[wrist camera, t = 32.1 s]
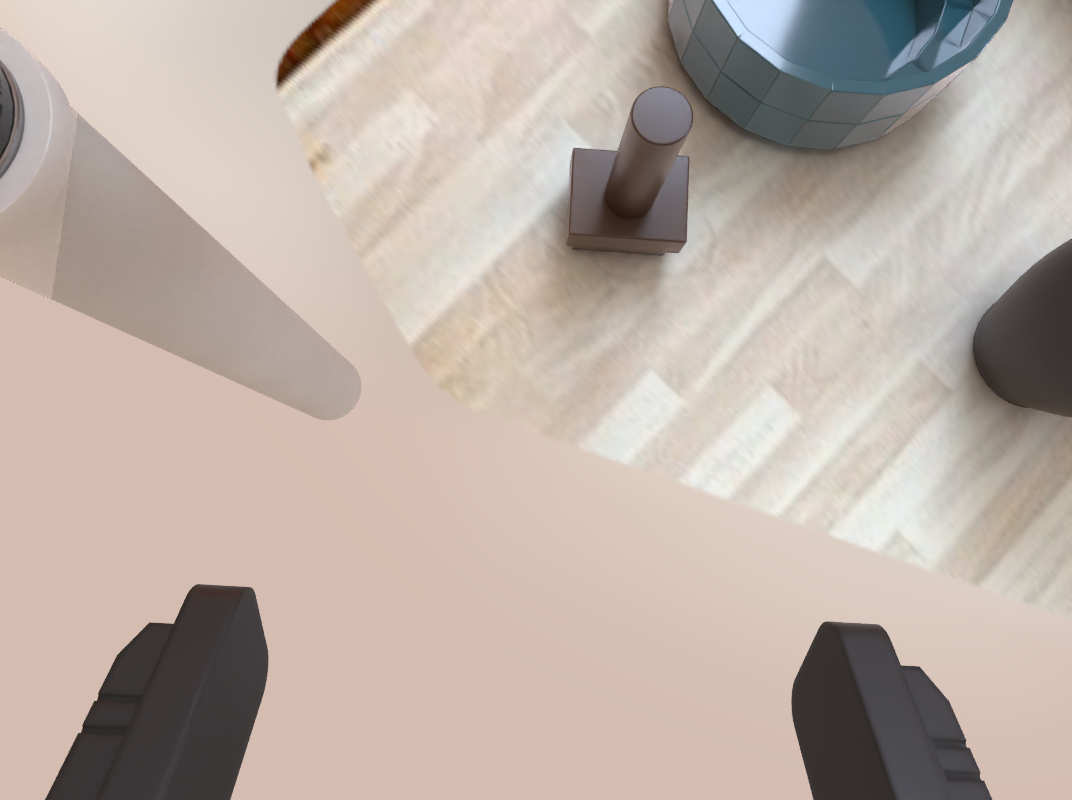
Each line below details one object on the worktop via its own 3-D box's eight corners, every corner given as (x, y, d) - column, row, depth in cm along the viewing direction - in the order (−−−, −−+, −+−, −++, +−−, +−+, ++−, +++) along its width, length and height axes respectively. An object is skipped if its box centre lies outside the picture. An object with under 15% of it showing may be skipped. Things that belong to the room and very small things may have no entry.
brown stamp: (562, 256, 38) (585, 164, 27) (567, 176, 38) (590, 55, 28) (671, 264, 38) (734, 175, 28) (674, 184, 38) (737, 67, 28)
